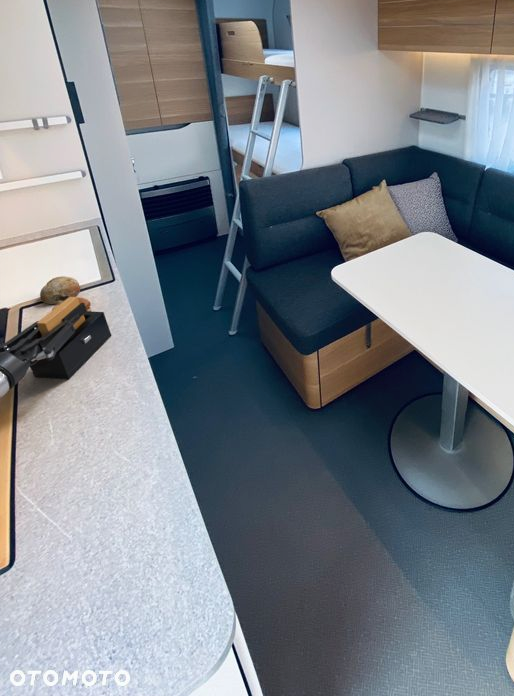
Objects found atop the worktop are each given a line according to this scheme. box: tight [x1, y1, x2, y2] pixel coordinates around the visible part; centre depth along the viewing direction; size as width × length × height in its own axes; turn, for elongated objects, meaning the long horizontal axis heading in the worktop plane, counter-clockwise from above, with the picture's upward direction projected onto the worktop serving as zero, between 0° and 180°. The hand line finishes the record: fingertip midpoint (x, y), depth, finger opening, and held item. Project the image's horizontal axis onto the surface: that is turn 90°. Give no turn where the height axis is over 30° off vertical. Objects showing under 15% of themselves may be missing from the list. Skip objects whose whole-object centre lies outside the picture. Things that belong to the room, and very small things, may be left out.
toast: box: [36, 296, 85, 337], centre depth 101 cm, size 2×10×10 cm, turn 175°
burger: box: [51, 296, 92, 311], centre depth 118 cm, size 10×9×5 cm
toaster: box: [29, 310, 112, 380], centre depth 103 cm, size 10×15×8 cm, turn 175°
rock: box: [39, 276, 81, 305], centre depth 128 cm, size 10×10×8 cm
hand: (78, 306), depth 106 cm, fingers closed on toast, 2 cm apart
